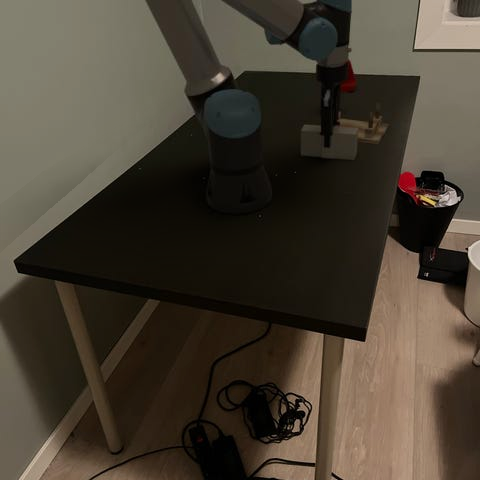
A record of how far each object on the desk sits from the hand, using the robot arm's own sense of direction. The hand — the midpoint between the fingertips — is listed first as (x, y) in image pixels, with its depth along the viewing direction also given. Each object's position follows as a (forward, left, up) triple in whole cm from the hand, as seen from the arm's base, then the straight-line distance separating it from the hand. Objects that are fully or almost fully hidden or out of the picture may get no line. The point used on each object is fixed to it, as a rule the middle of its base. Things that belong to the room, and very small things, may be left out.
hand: (329, 153), depth 126 cm
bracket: (+50, +12, -1) cm, 51 cm away
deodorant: (+28, +9, -1) cm, 29 cm away
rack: (+16, -1, 0) cm, 16 cm away
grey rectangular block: (0, 0, 0) cm, 0 cm away
